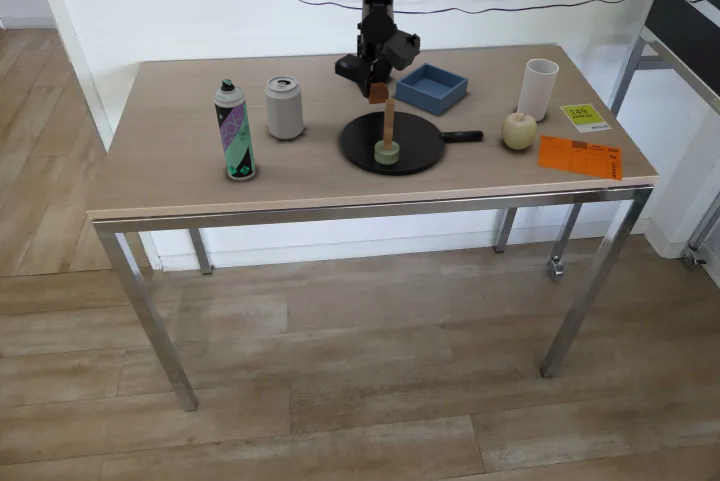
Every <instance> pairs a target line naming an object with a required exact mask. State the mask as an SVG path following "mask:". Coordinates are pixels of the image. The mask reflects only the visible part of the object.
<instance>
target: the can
mask: <svg viewBox="0 0 720 481" xmlns="http://www.w3.org/2000/svg"><path fill="white" fill-rule="evenodd" d="M264 98H265V106H266V116H267V124H268V131H269V133H270V134H271V135H272V136H273V137H276V138H277V139H280V140H291V139H294V138H297V137H298V136H299V135H300V134H301V133H303V130H304V116H303V101H302V99H303V98H302V88H301V85H300V84H299V83H298V80H297V79H296V77H293V76H291V75H285V74H283V75H282V74H281V75H276V76H272V77H270V78H269V79H268V80H267V82H266V86H265V87H264Z"/></svg>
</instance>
